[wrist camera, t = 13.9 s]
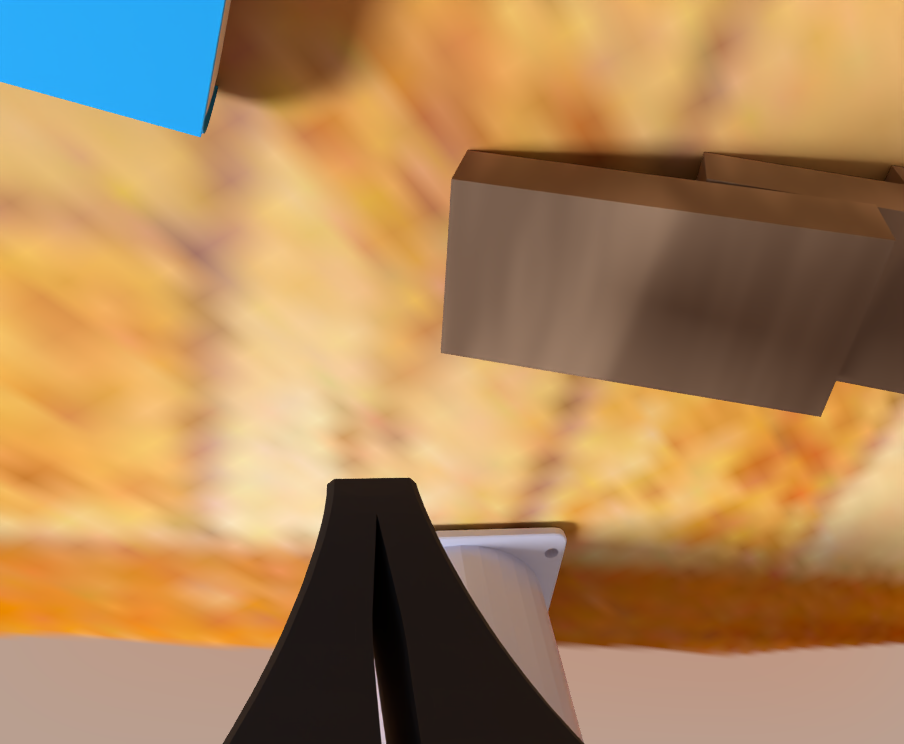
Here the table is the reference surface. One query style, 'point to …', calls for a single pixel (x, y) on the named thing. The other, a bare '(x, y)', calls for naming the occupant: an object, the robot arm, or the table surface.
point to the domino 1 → (658, 279)
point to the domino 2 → (900, 286)
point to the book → (119, 55)
